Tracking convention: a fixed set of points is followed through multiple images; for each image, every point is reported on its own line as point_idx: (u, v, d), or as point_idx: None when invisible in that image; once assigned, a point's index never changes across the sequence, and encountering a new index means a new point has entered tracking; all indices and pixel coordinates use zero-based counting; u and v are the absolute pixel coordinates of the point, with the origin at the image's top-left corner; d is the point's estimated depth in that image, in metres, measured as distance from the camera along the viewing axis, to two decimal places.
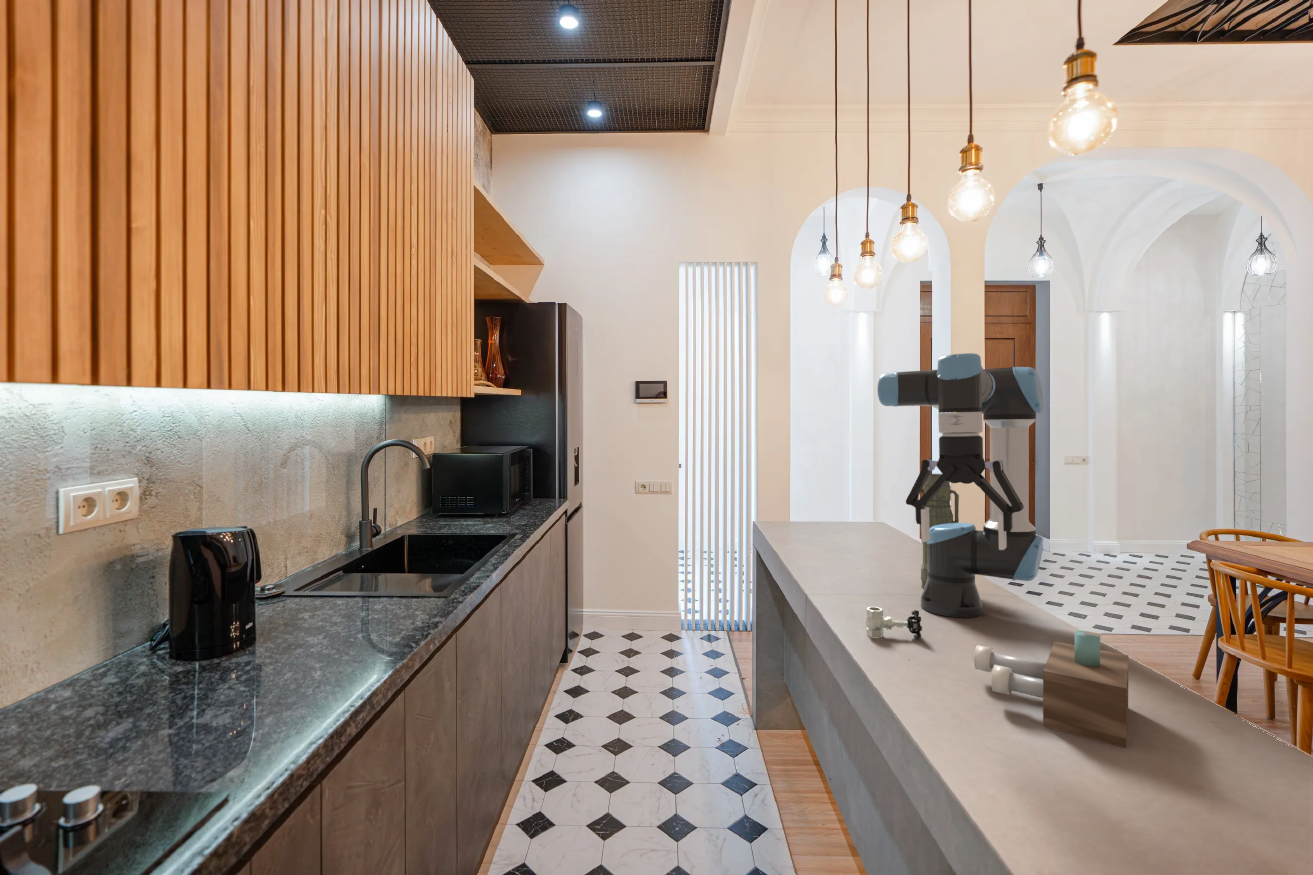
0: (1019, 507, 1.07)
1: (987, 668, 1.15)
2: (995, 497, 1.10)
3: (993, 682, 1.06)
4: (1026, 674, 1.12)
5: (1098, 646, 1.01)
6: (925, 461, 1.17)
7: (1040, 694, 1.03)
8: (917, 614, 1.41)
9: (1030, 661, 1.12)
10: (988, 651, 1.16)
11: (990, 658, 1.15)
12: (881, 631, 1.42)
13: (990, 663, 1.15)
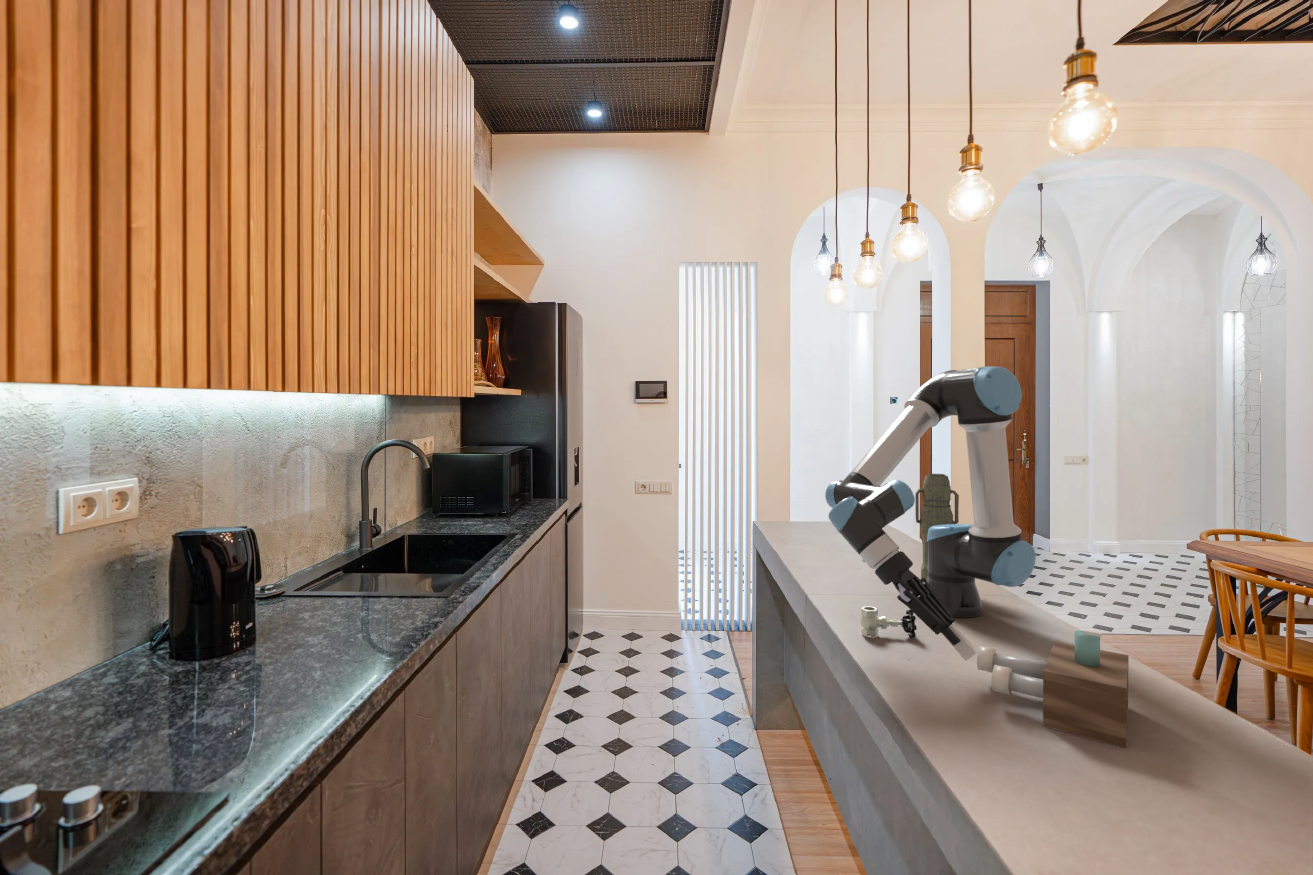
0: (932, 630, 1.19)
1: (990, 669, 1.15)
2: None
3: (993, 682, 1.06)
4: (1029, 675, 1.11)
5: (1098, 646, 1.01)
6: None
7: (1040, 694, 1.03)
8: (911, 613, 1.41)
9: (1033, 662, 1.12)
10: (991, 651, 1.15)
11: (993, 659, 1.15)
12: (876, 631, 1.42)
13: (992, 663, 1.15)
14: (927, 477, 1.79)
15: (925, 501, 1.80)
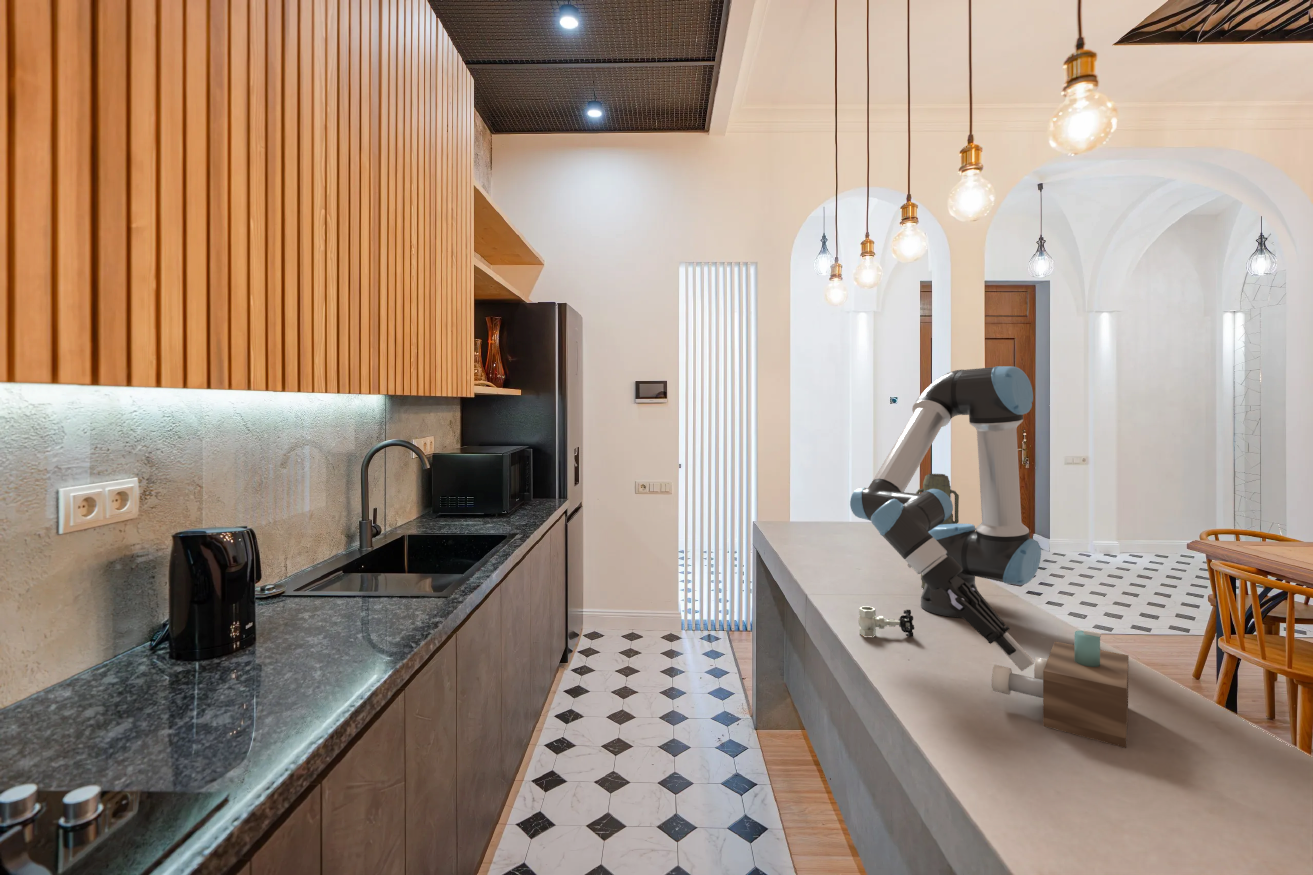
0: (986, 639, 1.13)
1: None
2: None
3: (993, 682, 1.06)
4: None
5: (1098, 646, 1.01)
6: None
7: (1040, 694, 1.03)
8: (909, 613, 1.42)
9: None
10: None
11: None
12: (874, 630, 1.43)
13: None
14: (927, 477, 1.79)
15: None
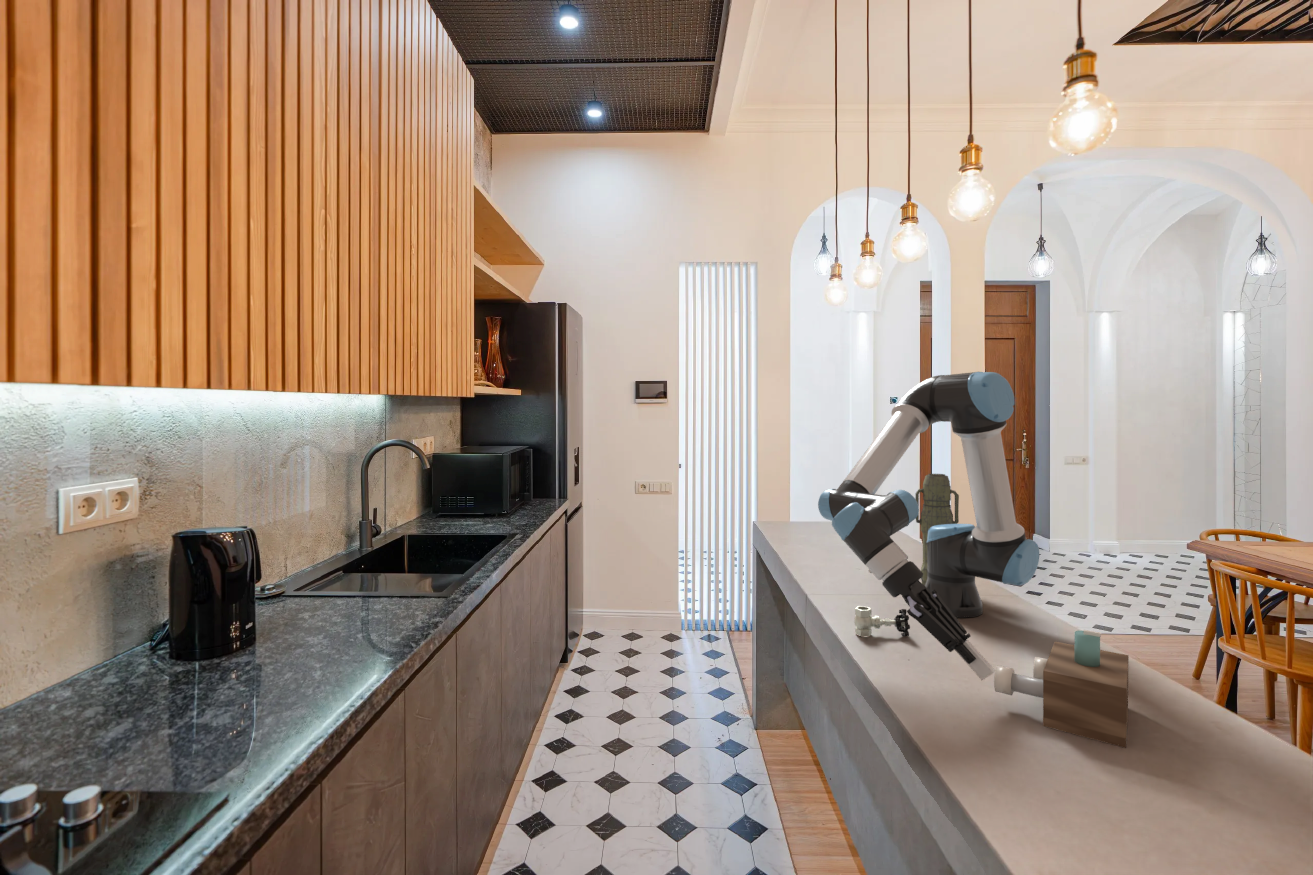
0: (946, 647, 1.10)
1: None
2: None
3: (995, 683, 1.06)
4: None
5: (1098, 646, 1.01)
6: None
7: None
8: (905, 613, 1.42)
9: None
10: None
11: None
12: (870, 630, 1.43)
13: None
14: (927, 477, 1.79)
15: (925, 501, 1.80)
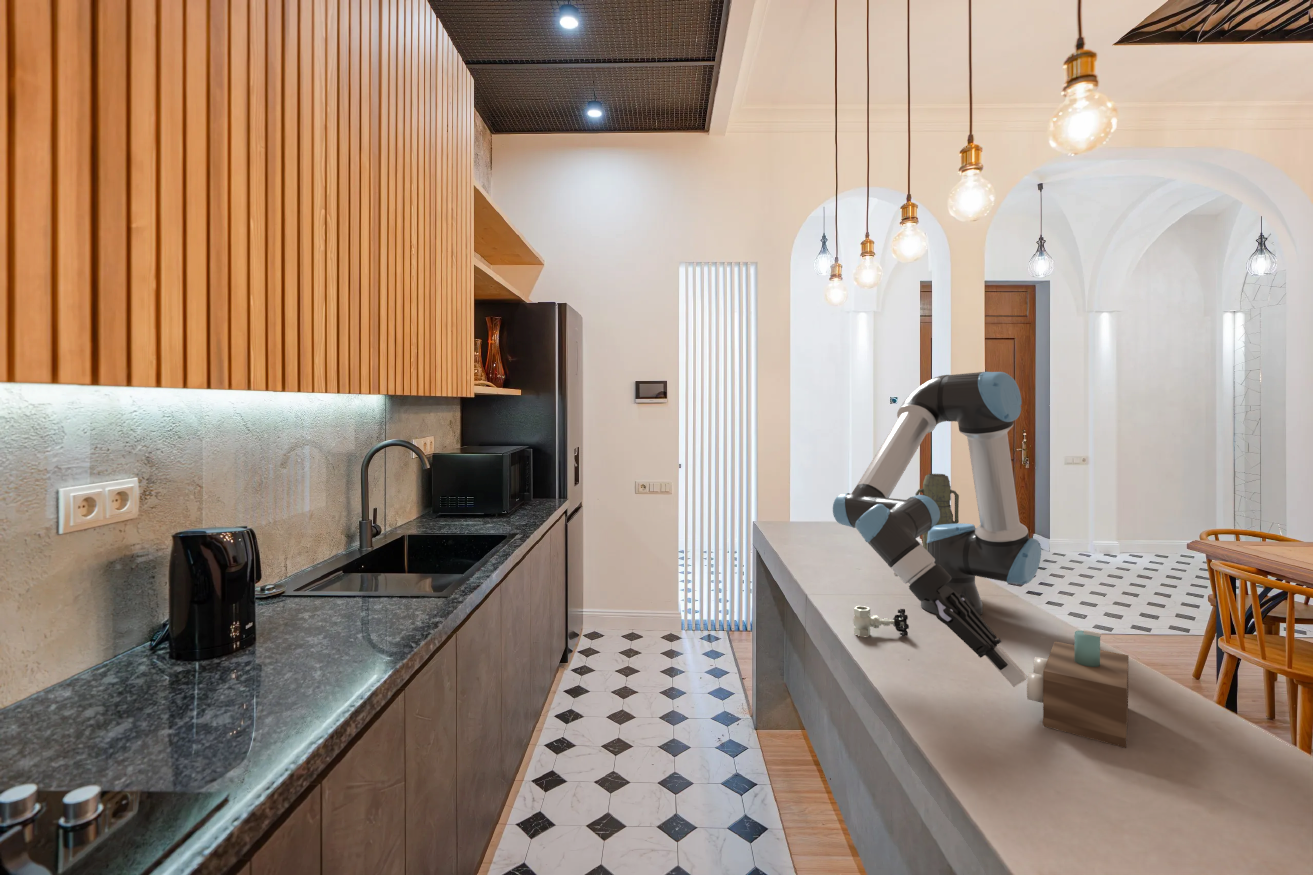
0: None
1: None
2: None
3: (1028, 690, 1.03)
4: None
5: (1098, 646, 1.01)
6: None
7: None
8: (903, 612, 1.42)
9: None
10: None
11: None
12: (868, 630, 1.43)
13: None
14: (927, 477, 1.79)
15: None
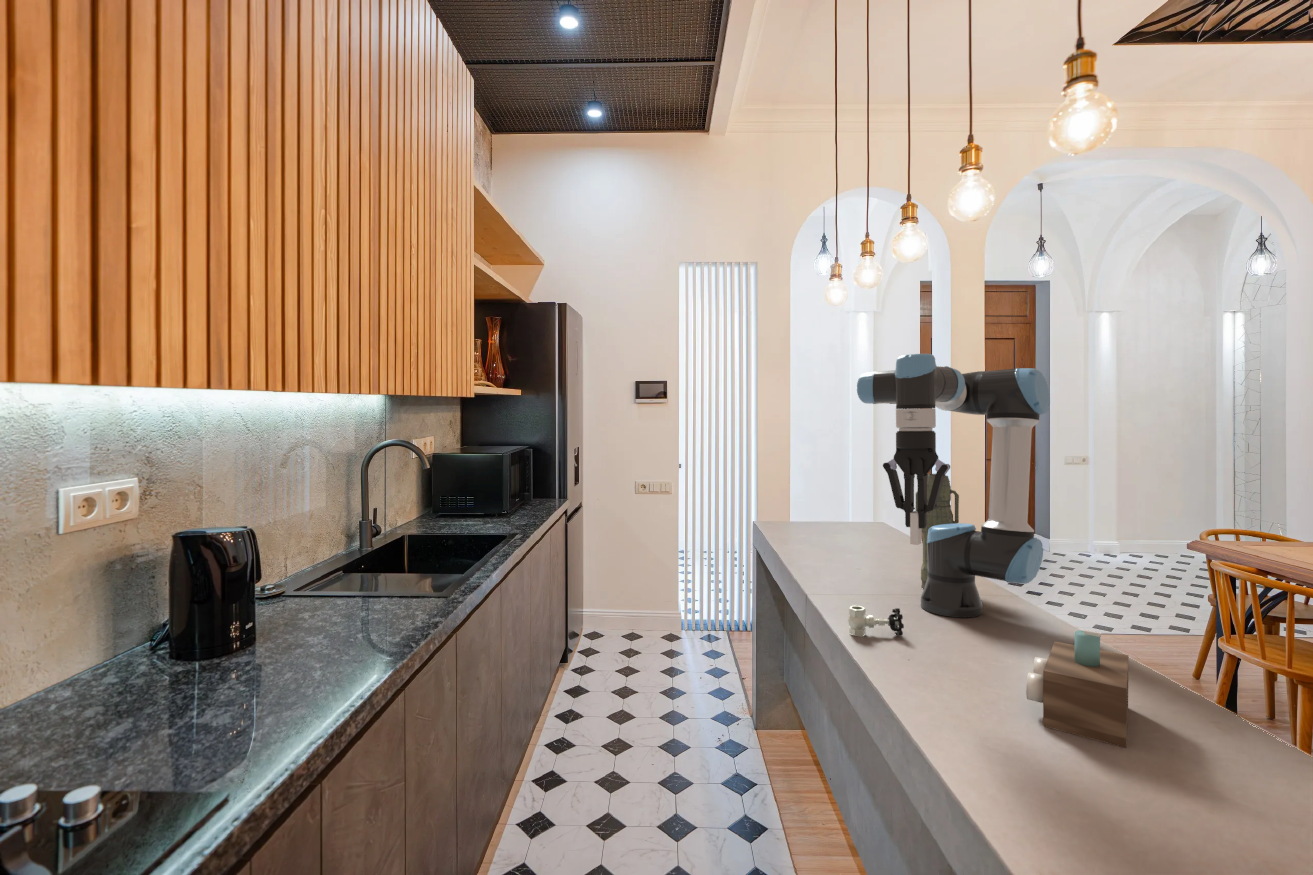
0: (932, 508, 1.20)
1: None
2: (922, 495, 1.21)
3: (1028, 690, 1.03)
4: None
5: (1098, 646, 1.01)
6: (885, 464, 1.25)
7: None
8: (898, 612, 1.43)
9: None
10: None
11: None
12: (864, 630, 1.43)
13: None
14: None
15: None
